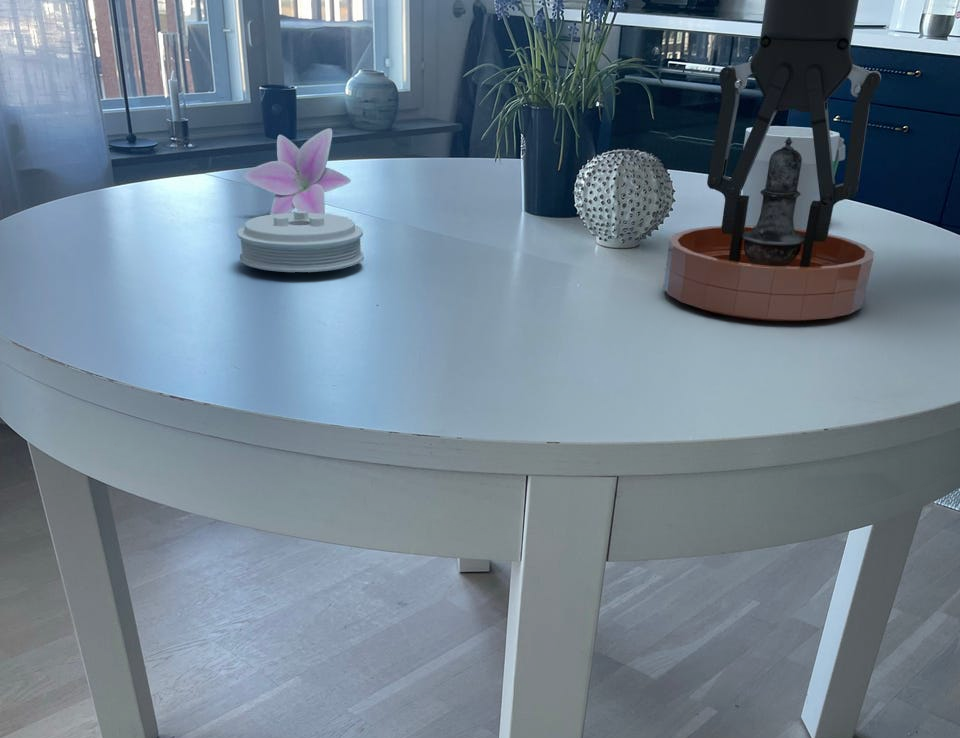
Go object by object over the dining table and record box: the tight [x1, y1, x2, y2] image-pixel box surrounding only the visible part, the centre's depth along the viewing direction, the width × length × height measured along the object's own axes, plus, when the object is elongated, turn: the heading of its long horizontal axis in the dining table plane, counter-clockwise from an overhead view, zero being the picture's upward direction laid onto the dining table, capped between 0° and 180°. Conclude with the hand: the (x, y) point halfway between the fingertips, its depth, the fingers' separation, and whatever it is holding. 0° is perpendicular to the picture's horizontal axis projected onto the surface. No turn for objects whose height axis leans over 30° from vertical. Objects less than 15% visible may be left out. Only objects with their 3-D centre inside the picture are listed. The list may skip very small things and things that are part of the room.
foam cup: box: [742, 125, 841, 230], centre depth 107 cm, size 10×9×13 cm
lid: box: [236, 210, 365, 273], centre depth 104 cm, size 13×13×5 cm
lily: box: [242, 128, 352, 215], centre depth 125 cm, size 12×12×10 cm
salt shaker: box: [741, 137, 805, 266], centre depth 94 cm, size 6×6×12 cm
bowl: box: [663, 225, 875, 322], centre depth 97 cm, size 19×19×5 cm
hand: (767, 273), depth 97 cm, fingers closed on salt shaker, 6 cm apart
